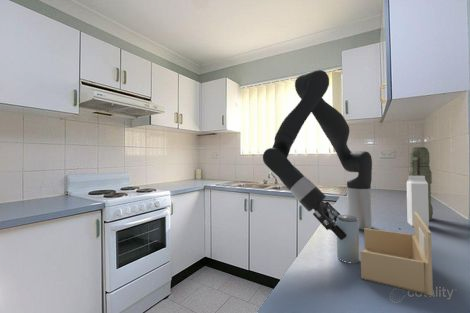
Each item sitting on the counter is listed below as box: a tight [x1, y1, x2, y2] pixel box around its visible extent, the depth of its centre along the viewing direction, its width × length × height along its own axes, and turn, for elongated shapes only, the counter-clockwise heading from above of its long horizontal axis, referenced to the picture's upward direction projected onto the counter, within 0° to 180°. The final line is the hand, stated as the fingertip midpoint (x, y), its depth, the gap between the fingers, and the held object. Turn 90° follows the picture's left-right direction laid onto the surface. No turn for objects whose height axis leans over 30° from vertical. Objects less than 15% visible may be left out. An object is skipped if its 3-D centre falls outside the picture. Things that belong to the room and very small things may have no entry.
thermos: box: [407, 146, 434, 221], centre depth 111 cm, size 9×12×35 cm
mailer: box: [360, 212, 434, 297], centre depth 62 cm, size 22×14×14 cm, turn 148°
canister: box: [336, 214, 360, 264], centre depth 68 cm, size 6×6×13 cm
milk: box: [406, 175, 430, 229], centre depth 100 cm, size 6×6×22 cm
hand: (346, 233), depth 68 cm, fingers open, 8 cm apart
